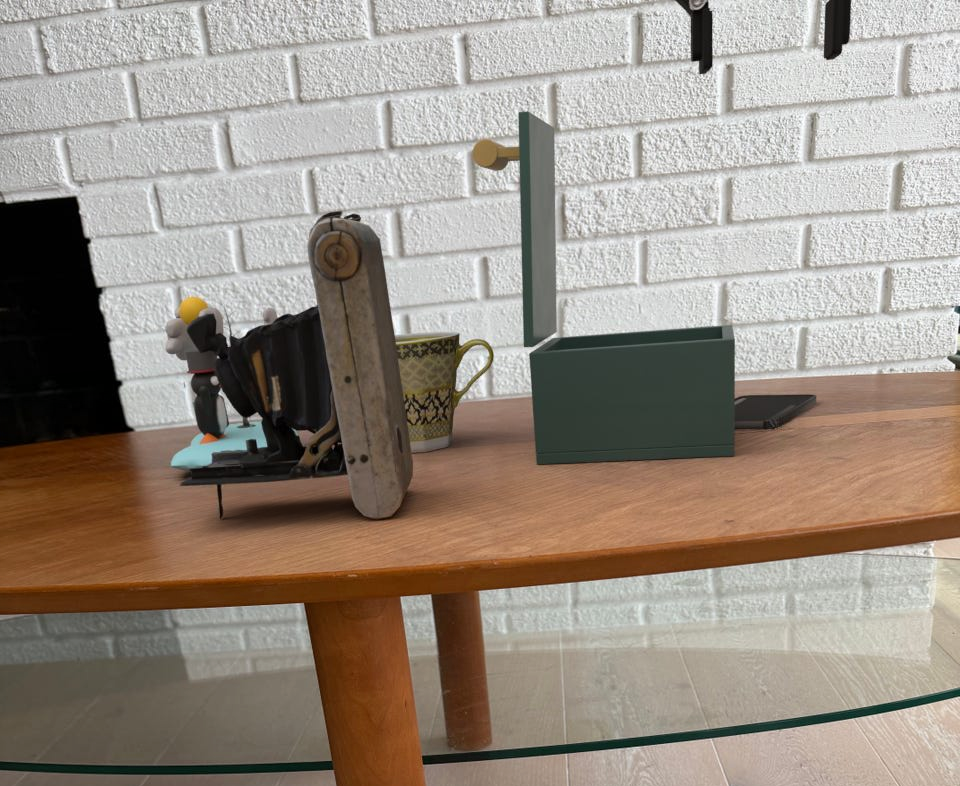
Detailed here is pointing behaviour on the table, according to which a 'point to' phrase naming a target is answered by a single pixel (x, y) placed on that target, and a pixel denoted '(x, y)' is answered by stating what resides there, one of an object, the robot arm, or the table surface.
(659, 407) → the chest
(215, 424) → the penguin figurine
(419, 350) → the ceramic cup
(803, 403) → the phone
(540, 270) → the lid
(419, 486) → the table surface
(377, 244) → the vintage camera
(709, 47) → the robot arm
